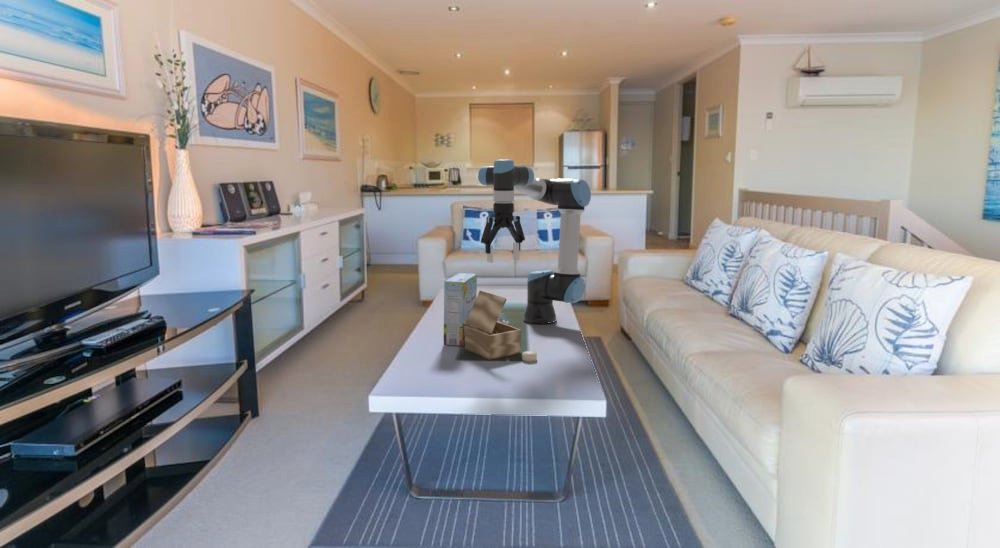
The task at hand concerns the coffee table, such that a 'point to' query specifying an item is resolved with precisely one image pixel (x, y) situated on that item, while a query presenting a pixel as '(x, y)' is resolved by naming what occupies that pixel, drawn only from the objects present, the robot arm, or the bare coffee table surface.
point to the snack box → (458, 306)
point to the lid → (485, 312)
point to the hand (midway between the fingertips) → (503, 261)
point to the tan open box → (493, 341)
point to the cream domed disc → (529, 356)
